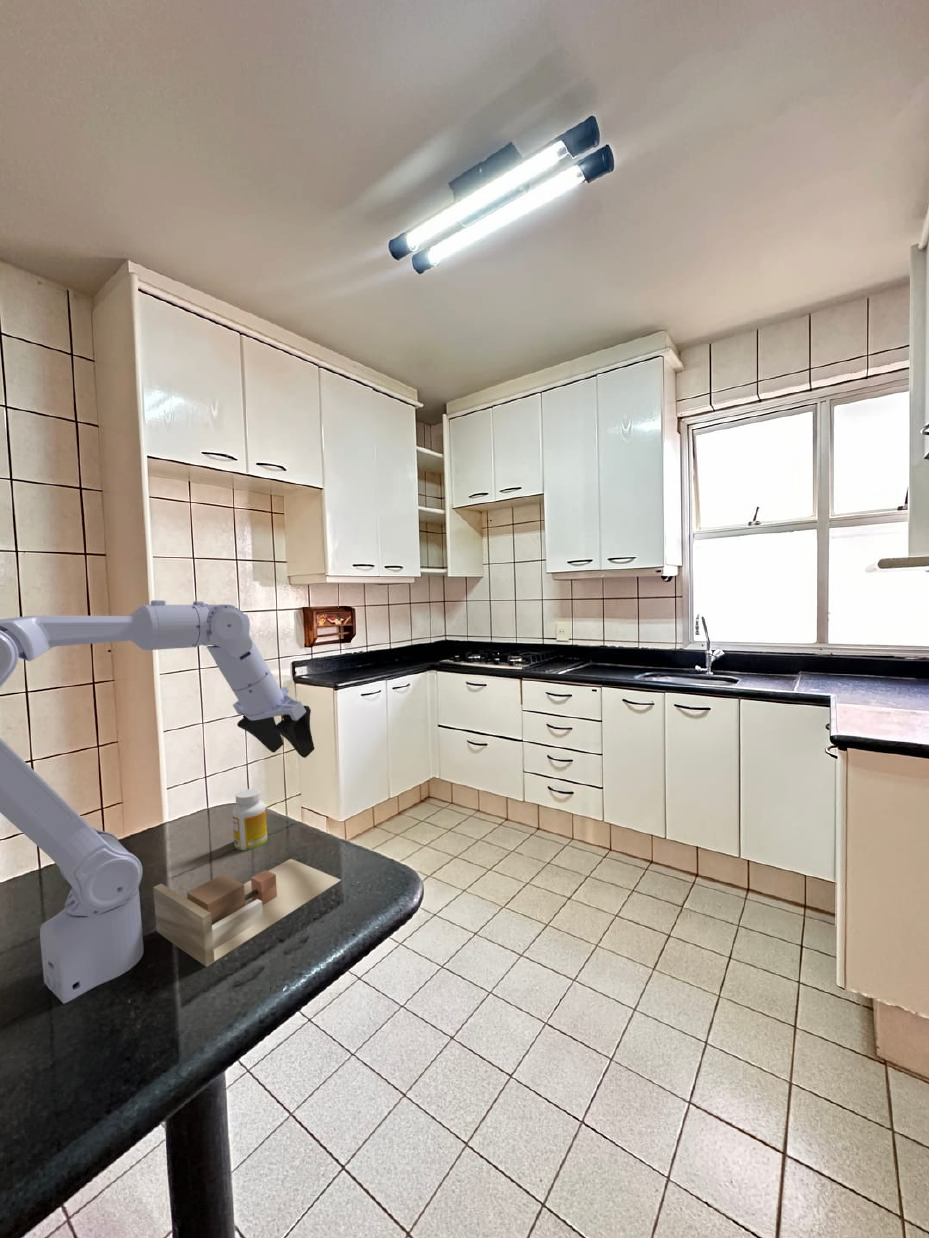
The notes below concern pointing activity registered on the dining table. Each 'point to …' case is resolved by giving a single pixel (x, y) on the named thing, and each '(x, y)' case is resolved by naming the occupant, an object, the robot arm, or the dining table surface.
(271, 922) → the shelf lane
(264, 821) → the supplement bottle
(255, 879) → the walnut block
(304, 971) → the dining table surface
